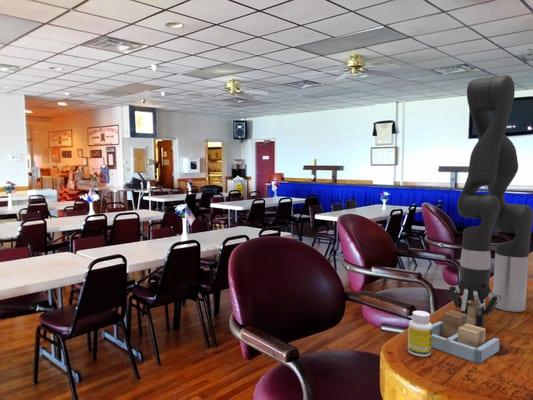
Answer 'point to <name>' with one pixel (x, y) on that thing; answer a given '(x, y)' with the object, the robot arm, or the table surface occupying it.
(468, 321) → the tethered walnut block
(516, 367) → the table surface
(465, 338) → the oak block
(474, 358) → the lane shelf
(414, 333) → the supplement bottle
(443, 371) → the table surface
